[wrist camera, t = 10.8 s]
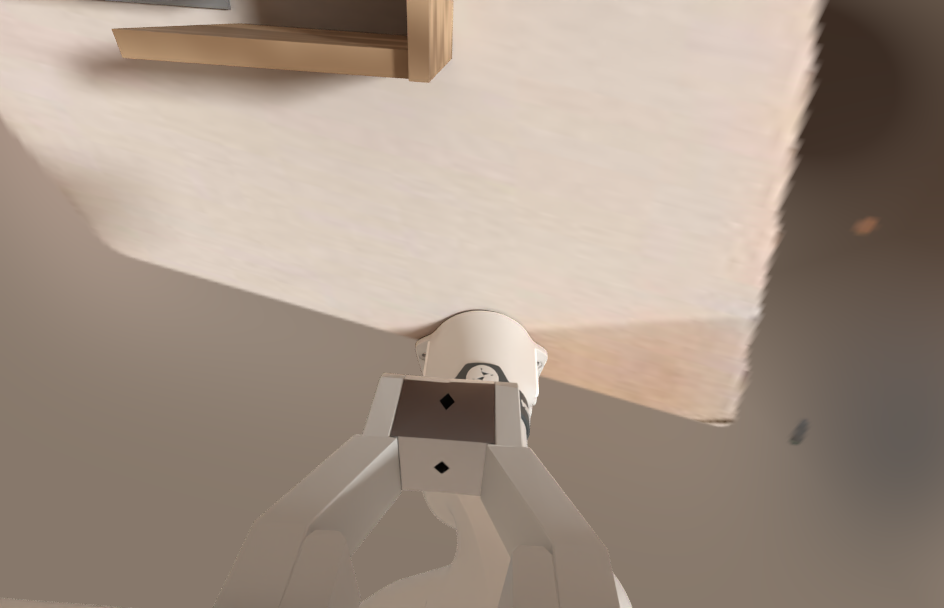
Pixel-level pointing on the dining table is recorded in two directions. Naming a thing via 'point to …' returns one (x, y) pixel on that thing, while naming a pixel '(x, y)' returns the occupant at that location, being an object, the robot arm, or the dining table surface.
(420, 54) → the shelf bay
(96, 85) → the dining table surface
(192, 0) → the mat
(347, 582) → the robot arm
